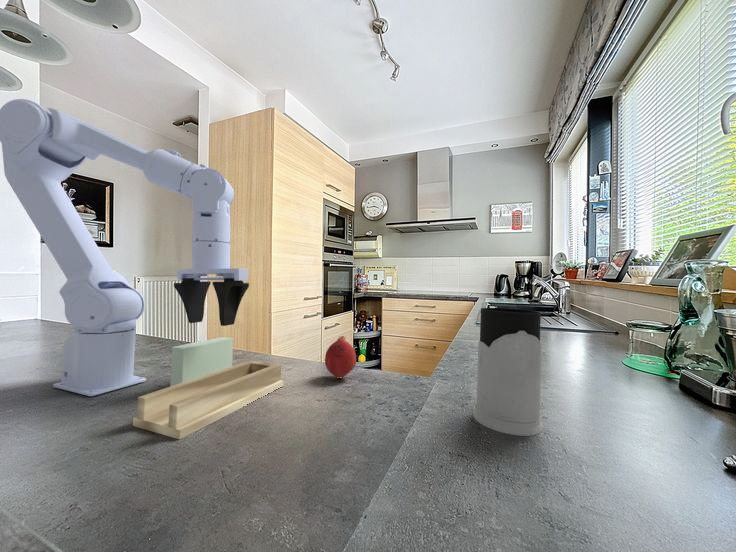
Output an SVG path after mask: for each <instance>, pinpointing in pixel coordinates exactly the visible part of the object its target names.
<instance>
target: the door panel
mask: <svg viewBox="0 0 736 552" xmlns="http://www.w3.org/2000/svg"><path fill="white" fill-rule="evenodd" d="M233 354H234V338H233V337H226V336H221V337H216V338H212V339H206V340H202V341H195V342H191V343H186V344H185V343H184V344H181V345H175V346H172V347H171V364H170V365H171V366H170V381H169V382H170V383H169V387H171V386H174V385H177V384H180V383H183V382H186V381H189V380H192V379H195V378H198V377H201V376H205V375H208V374H211V373H214V372H217V371H220V370H223V369H226V368H229V367H232V366H233Z"/></svg>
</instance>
